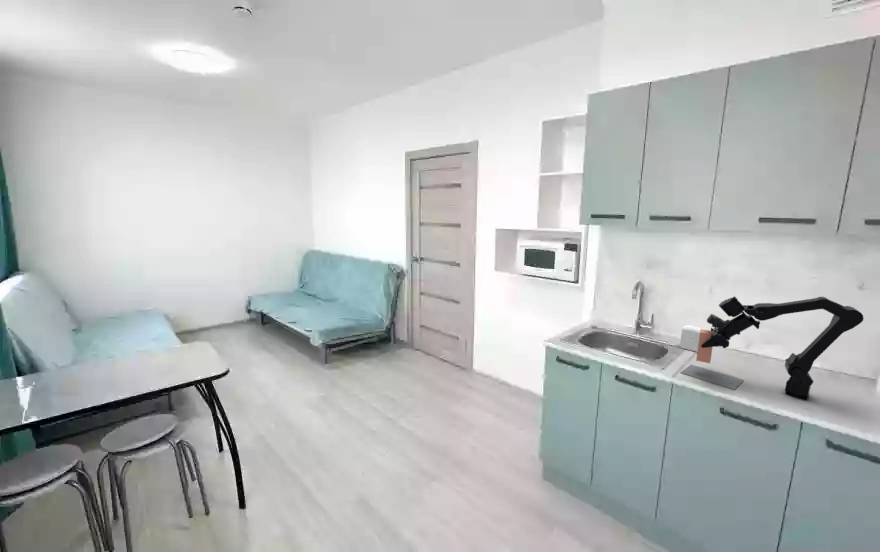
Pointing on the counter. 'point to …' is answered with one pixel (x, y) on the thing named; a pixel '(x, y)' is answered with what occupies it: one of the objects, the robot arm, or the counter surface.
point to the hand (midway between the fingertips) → (701, 345)
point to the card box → (704, 353)
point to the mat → (712, 376)
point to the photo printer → (690, 338)
